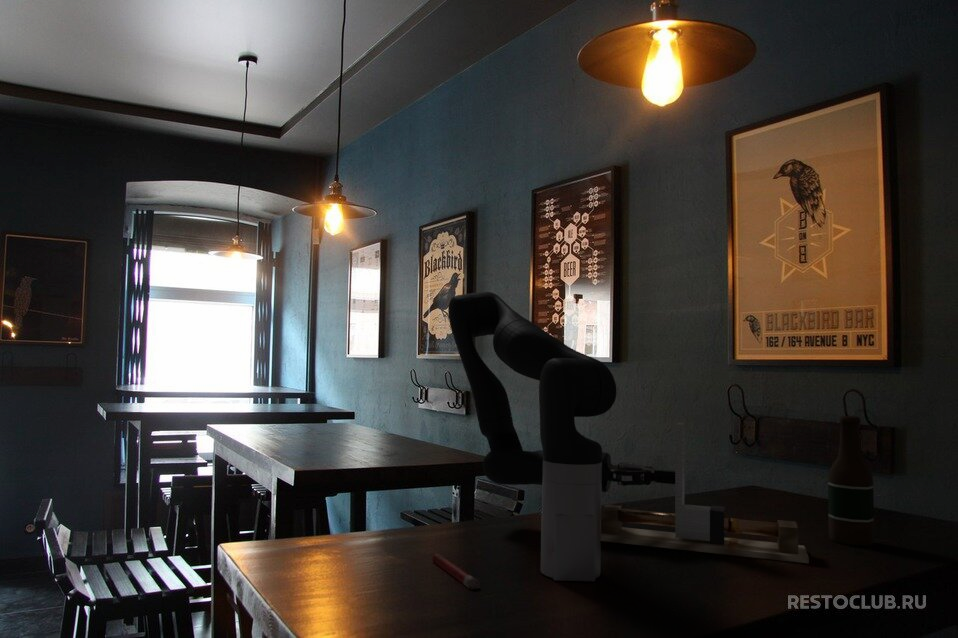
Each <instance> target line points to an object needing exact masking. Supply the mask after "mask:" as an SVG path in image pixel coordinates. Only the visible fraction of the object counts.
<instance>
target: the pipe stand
mask: <svg viewBox="0 0 958 638" xmlns="http://www.w3.org/2000/svg"><path fill="white" fill-rule="evenodd" d="M622 507H623V505H617V504H605V505H604V506H603V507H601V542H605V543H607V542H608V543H615V544H623V545H624V544H625V545H635V546H643V547H644V546H645V547H654V548H661V549H662V548H664V549H672V550H679V551H691V552H699V553H707V554H708V553H709V554H716V555H718V554H719V555H727V556H728V555H729V556H734V557H744V558H746V557H747V558H755V559H763V560H773V561H782V562H791V563H793V562H794V563H801V564H809V563H810V556H809V555H808V552H807V549H806V547H805V545H802V544H801V545H800V544H799V527H798V525H797V521H792V520H783V519H782V520H780V519H777V523H778V524H779V537H777V542H773V541H772V542H771V541H763V540H751V539H744V538H743V539H741V538H736V537H725V538H724V544H719V543H710V541H703V540H694V539H684V538H675V531H674V532H671V531H662V530H655V529H654V530H653V529H642V528H633V527H624V526H622V523H623V522H620V521H619V520H618V512H619V508H620V509H623V508H622Z"/></svg>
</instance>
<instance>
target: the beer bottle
mask: <svg viewBox="0 0 958 638" xmlns="http://www.w3.org/2000/svg"><path fill="white" fill-rule="evenodd" d="M838 422H839V423H840V431H839V432H840V435H839V449H838V454H837V458H836V459H835V460H834V461H833V463H832V464H831V466H830V469H829V471H828V477H827V478H828V479H827V488H828V489H827V491H828V492H827V494H828V495H827V498H828V500H827V503H828V504H827V505H828V506H827V507H828V508H827V509H828V515H827V516H828V519H827V520H828V538H829V540H831V541H833V542H834V543H836V544H840V545H841V544H842V545H846V546H852V547H868V546H871V545H874V538H875V520H874V519H875V515H874V514H875V513H874V512H875V511H874V510H875V508H874V506H875V505H874V504H875V503H874V501H875V500H874V494H875V493H874V479H873V478H874V477H873V474H872V472H871V469H870V467H869V466H868V464H867V462H866V461H865V460H864V458H863V457H864V456H863V454H862V446H861V445H862V444H861V432H860V424H861V423H862V421H861V419H860V417H858V416H852V415H842V416H839V419H838Z"/></svg>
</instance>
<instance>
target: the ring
mask: <svg viewBox="0 0 958 638" xmlns="http://www.w3.org/2000/svg"><path fill="white" fill-rule="evenodd" d="M710 507H711V508H710V543H719V544H724V538H726V536H725V534H726V532H724V518H725V516H726V515H725V510H726V509H725V506H721V505H710Z"/></svg>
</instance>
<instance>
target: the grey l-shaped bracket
mask: <svg viewBox="0 0 958 638" xmlns="http://www.w3.org/2000/svg"><path fill="white" fill-rule="evenodd" d="M685 427H686V423H685V422H677V423H676V424H675V464H674V465H675V469H674V471H675V484H674V485H675V487H674V488H675V489H674V491H675V492H674V496H675V497H674V504H675V505H674V507H675V508H674V509H675V510H674V513H675V527H674V533H675V538H684V539H694V540H703V541H710V508H711V506H708V505H707V506H706V505H695V504H686V503H685V470H686V469H685V468H686V467H685V465H686V464H685V463H686V462H685V461H686V459H685V457H686V456H685V455H686V454H685V451H686V449H685V448H686V447H685V446H686V443H685V441H686V440H685V439H686V428H685Z"/></svg>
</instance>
